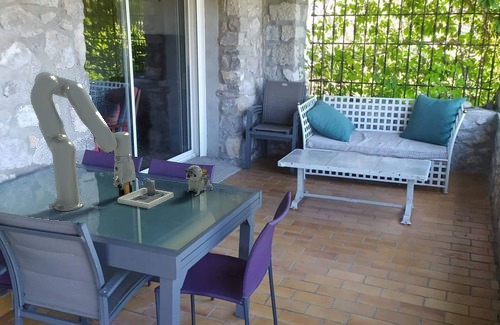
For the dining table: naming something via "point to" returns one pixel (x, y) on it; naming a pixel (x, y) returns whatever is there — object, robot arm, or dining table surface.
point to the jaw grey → (151, 188)
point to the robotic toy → (197, 179)
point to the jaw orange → (126, 188)
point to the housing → (145, 198)
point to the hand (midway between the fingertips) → (125, 194)
